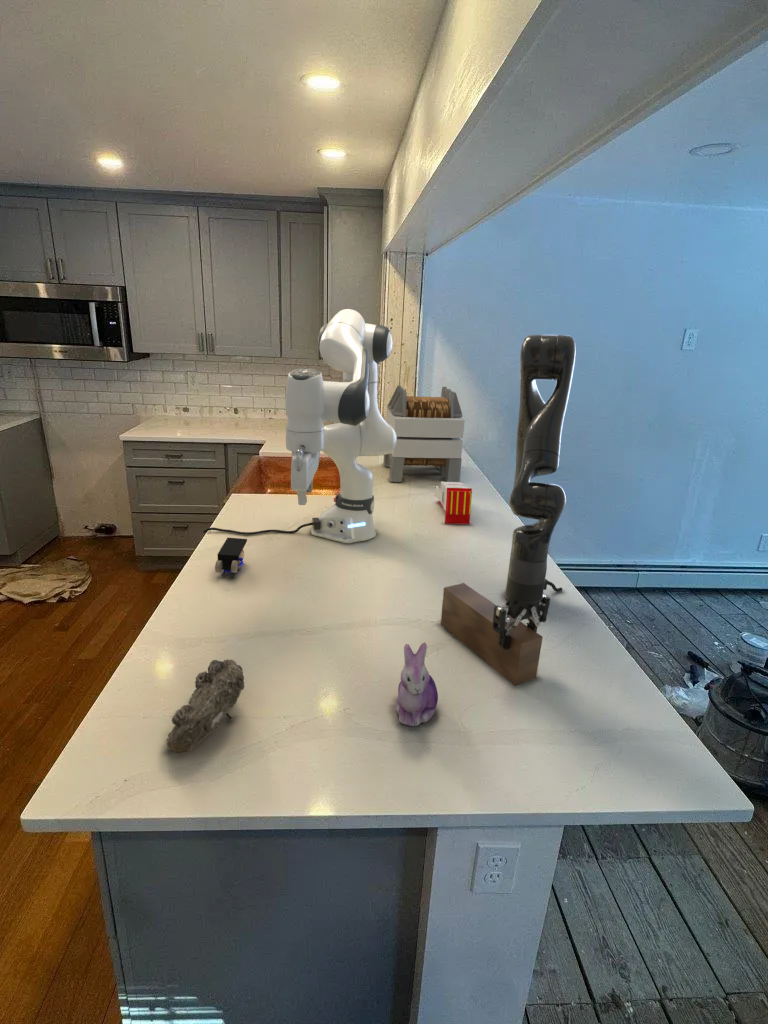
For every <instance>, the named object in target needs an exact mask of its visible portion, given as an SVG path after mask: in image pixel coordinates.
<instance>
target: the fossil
mask: <svg viewBox="0 0 768 1024" xmlns="http://www.w3.org/2000/svg"><path fill="white" fill-rule="evenodd" d="M243 670H244V669H243V667H242V665H240V664H237V662H236V661H235V660H234V659H232V658H231V659H227V658H226V659H224V660H223V661H222V660H217V659H212V660H211V661H210V663H209V665H208V666H207V671H201V672H199V673H198V674H197V675H196V676H195V680H194V684H195V685H194V687H195V689H194V690H193V693H192V694H191V697H190V698H189V700H188V704H184V705H182V706H181V707H180V709H177V710H176V711H175V713H174V715H173V716H172V718H171V723H172V724H173V727H172V730H171V731H170V732H168V734H167V738H166V741H167V742H166V745H167V749H168V750H169V751H173V752H174V753H176V754H178V753H182V752H188V751H189V752H192V751H193V750H195V748H196V747H197V746H199V744H200V743H201V742H203V741H204V740H205V739H206V738H207V737H208V736H209V735H210V734H211V733H212V732H214V730H215V729H217V727H218V726H219V724H220V722H221V721H222V720H223V719H224V718H225V716H226V717H227V719H229V720H233V717H232V715H230V714H229V710H230V709H231V708H234V706H235V704H236V703H237V702H238V699H239V697H240V695H241V693H242V691H243V690H245V689H244V688H245V675H244V671H243Z"/></svg>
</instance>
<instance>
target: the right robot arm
mask: <svg viewBox="0 0 768 1024" xmlns="http://www.w3.org/2000/svg"><path fill="white" fill-rule="evenodd" d="M576 349H577V348H576V341H575V339H574V337H573V336H571V335H568V334H529V335H527V336H525V337H524V339H523V340H522V344H521V347H520V357H519V410H518V420H517V427H516V428H517V429H516V448H515V449H516V451H515V453H516V457H515V470H514V471H515V472H514V480H513V487H512V491H511V493H510V496H509V507H510V510H511V512H512V514H513V515H514V516H516V517H520V518H524V519H531V520H538V521H536V522H534V523H531V524H526V525H520V526H518V527H516V528H515V529H513V533H512V539H511V540H512V541H511V547H510V555H509V563H508V570H507V579H506V584H505V585H506V586H505V592H504V598H505V600H506V603H505V605H502V606H500V605H498V604H495V605H496V606H495V607H494V615H493V627H492V629H493V630H494V631H495V632H497V633H498V634H500V635H499V645H500V647H501V648H503V649H504V650H508V649H509V642H510V633H511V632H512V630H513V628H514V627H517V625H518V623H519V622H520V621H521V622H522V621H523V620H527V621H528V622H527V623H526V626H528V627H529V628H531V629H532V630H534V631H535V632H537V633H538V627H540V625H541V623H545V622H546V621H547V619H548V613H549V608H550V604H551V598H550V597H548V596H547V595H546V594H544V591H546V590H547V589H548V588H547V587H548V586H550V587H551V588H552V590H553V591H554V592H557V593H559V592H562V591H563V588H562V587H558V588H557V586H556V584H555V583H553V582H552V581H550V580H548V579H547V578H546V576H547V569H548V554H549V548H550V547H549V546H550V542H551V539H552V535H553V532H554V530H555V527H556V526H557V524H558V521H559V519H560V517H561V516H562V514H563V511H564V509H565V506H566V503H567V497H566V493H565V490H564V489H563V488H562V486H560V485H558V484H555V483H545V482H544V483H543V482H533V481H531V480H533V479H534V478H536V477H540V476H547V475H553V474H554V473H556V472H557V470H558V469H559V465H560V464H559V463H560V453H561V443H562V432H563V426H564V420H565V415H566V411H567V406H568V403H569V398H570V393H571V387H572V383H573V382H572V381H573V377H574V370H575V363H576V354H577V353H576ZM536 381H556V382H555V386H554V389H553V391H552V393H551V395H550V396H549V398H548V399H547V401H544V399H543V397H542V396H541V394H540V391H539V388H538V386H537V382H536ZM509 616H510V617H511V618H513V619H514V621H511V620H510V619H509ZM507 623H508V624H509V626H508V628H507V629H506V628H505V627H506V625H507ZM498 625H499V626H498Z"/></svg>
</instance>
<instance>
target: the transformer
mask: <svg viewBox="0 0 768 1024" xmlns="http://www.w3.org/2000/svg"><path fill="white" fill-rule="evenodd" d="M440 393H441V394H440V396H415V395H414V396H413V395H412V396H411V395H407V394H408V393H407V390H406V389H404V388H403V387H402V385H399V384H398V385H397V386H396V388H395V390H394V392H393V394H392V395H391V398H390V400H389V402H388V404H387V405H386V413H385V414H386V415H385V421H386V422H387V423H388V424H389V425H390V426H391V427H392V428H393V429H394V431H395V433H396V437H397V442H396V446H395V448H394V450H393V451H392V452H391V453H389V454H385V455H383V466H384V467H388V468H389V475H388V476H389V477H388V478H389V480H390V482H391V483H402V482H403V475H404V469H405V466H406V467H407V466H411V467H412V466H413V467H415V466H416V467H417V466H418V467H436V468H437V470H438V469H439V473H440V474H441V475H443V478H444V479H445V482H461V472H462V461H463V460H462V453H463V442H464V441H463V440H462V439H463V438H464V431H465V430H464V429H465V419H464V418H463V411H462V408H461V405H460V402H459V398H458V395H457V392H455V391H453V390H452V389H451V388H447V386H442V387H441V392H440Z"/></svg>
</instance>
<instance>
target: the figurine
mask: <svg viewBox="0 0 768 1024" xmlns="http://www.w3.org/2000/svg"><path fill="white" fill-rule="evenodd" d="M427 651H428V645H427V642H422V643H421V644H420V646H419V647H418V649H417V651H416V653H414V651H413V649H412V648H411V645H410V644H408V643H405V644H404V646H403V655H404V666H403V668H402V670H401V672H400V682H399V683H398V685H397V686H398V687H397V699H396V704H395V712H396V713H397V715H398V721H399V723H400V724H403V725H405V726H406V725H407V726H410V727H417V726H419V725H421V724H423V723H427V722H428V721H430V719H431V718H432V717H433V716H434V714H435V712H436V709H437V705H438V701H439V694H438V688H437V684H436V682H435V680H434V678H433V676H431V674H430V673H429V671H428V668H427V667H426V663H425V659H426V654H427Z"/></svg>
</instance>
